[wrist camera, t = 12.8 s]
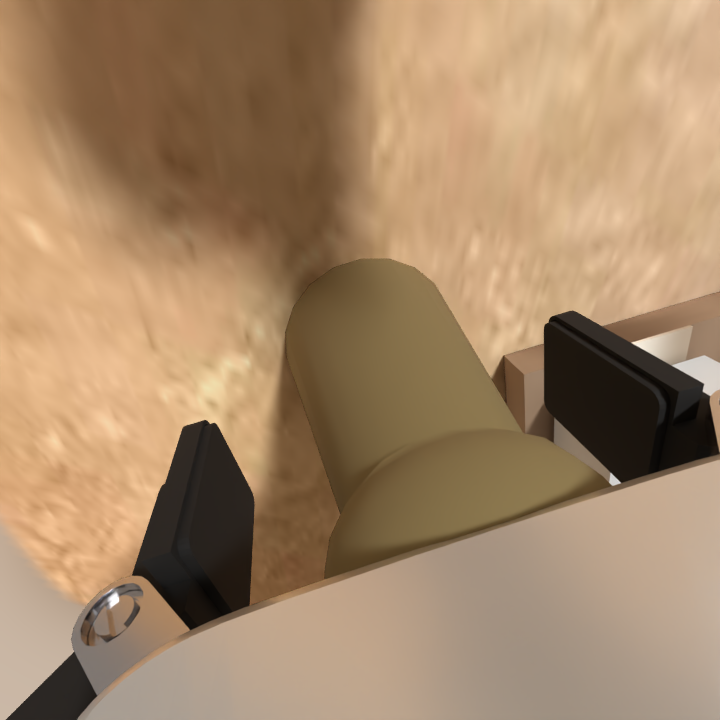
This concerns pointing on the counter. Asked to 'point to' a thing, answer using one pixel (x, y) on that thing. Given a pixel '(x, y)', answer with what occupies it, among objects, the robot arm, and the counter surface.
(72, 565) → the counter surface
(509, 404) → the board
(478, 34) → the counter surface
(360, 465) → the olive pawn figure
